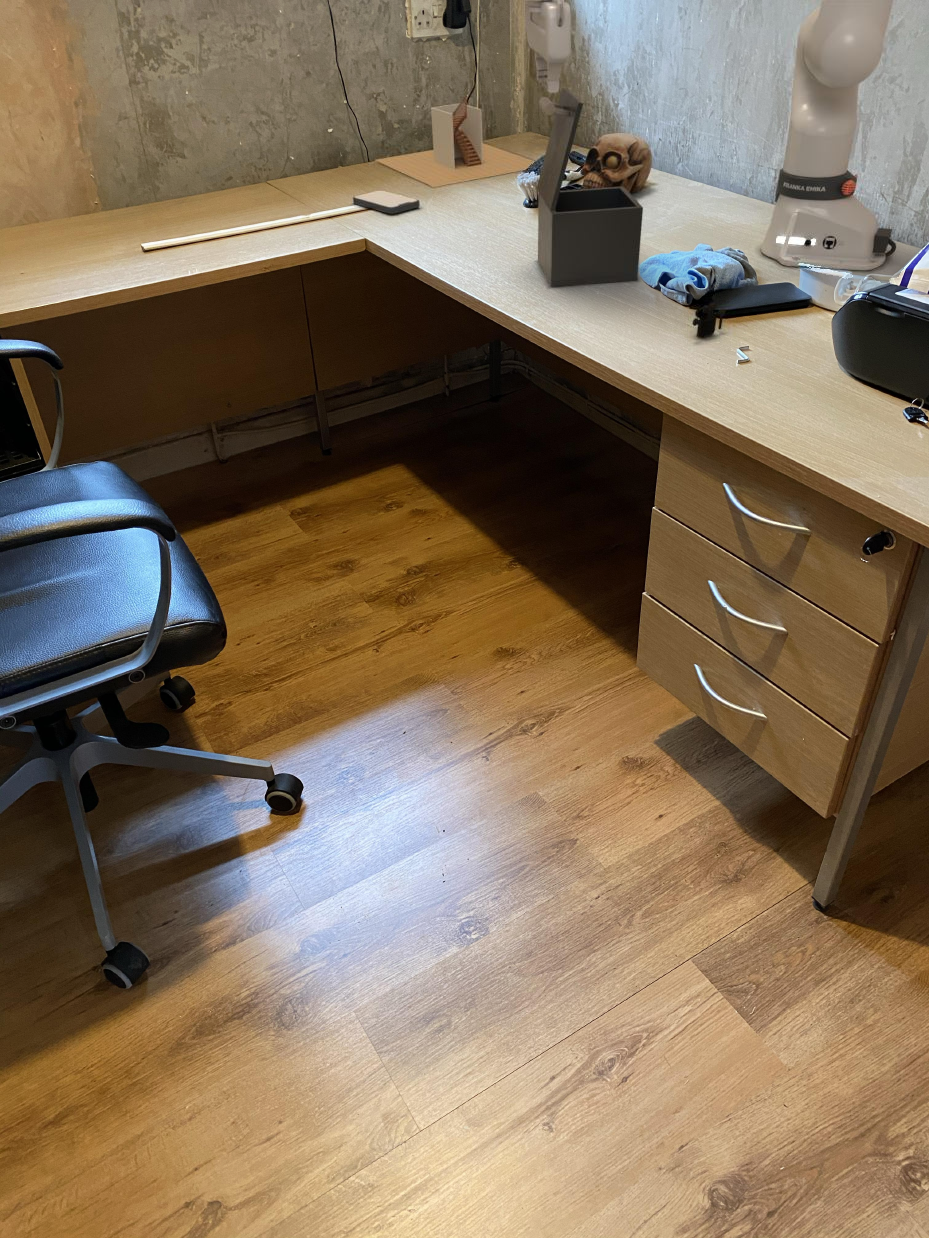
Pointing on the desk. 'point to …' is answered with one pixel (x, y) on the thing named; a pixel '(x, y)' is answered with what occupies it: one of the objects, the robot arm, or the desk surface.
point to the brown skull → (617, 163)
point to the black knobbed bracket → (707, 320)
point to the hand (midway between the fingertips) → (547, 87)
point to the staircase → (456, 150)
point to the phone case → (386, 202)
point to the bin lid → (558, 144)
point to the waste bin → (590, 237)
